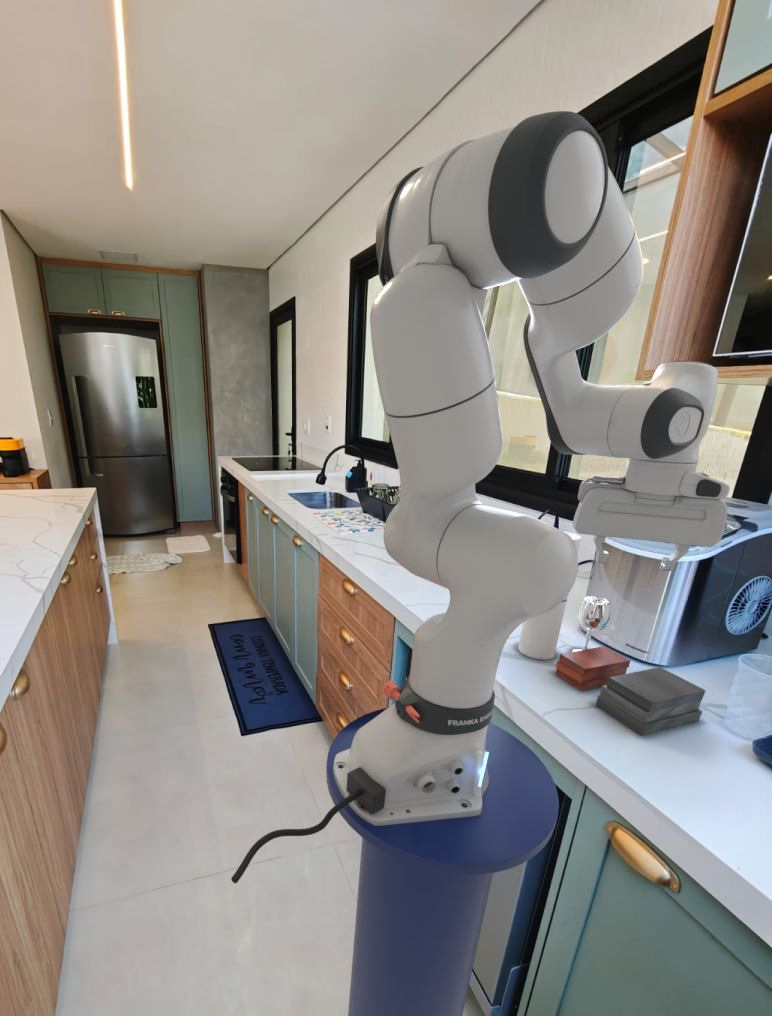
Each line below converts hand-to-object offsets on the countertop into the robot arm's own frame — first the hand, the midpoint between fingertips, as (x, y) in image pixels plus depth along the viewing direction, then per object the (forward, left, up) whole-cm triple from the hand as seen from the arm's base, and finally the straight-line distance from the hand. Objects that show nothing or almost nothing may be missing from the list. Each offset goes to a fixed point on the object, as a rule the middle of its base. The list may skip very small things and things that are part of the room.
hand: (633, 566), depth 82 cm
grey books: (+3, -7, -24) cm, 25 cm away
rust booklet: (+3, +5, -21) cm, 22 cm away
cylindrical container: (+1, +17, -24) cm, 29 cm away
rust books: (+3, +5, -24) cm, 25 cm away
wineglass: (+10, +13, -24) cm, 29 cm away
